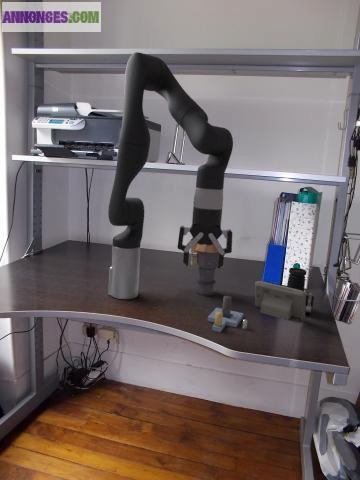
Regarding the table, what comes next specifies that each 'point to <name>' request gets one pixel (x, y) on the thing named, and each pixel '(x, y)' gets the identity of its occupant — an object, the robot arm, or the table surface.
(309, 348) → the table surface
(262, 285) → the digital clock
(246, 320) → the dowel
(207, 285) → the model tower
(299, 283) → the scope
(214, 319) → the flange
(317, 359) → the table surface
